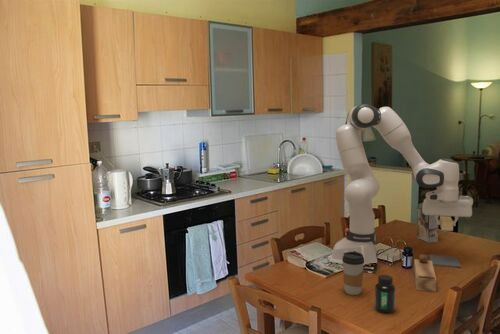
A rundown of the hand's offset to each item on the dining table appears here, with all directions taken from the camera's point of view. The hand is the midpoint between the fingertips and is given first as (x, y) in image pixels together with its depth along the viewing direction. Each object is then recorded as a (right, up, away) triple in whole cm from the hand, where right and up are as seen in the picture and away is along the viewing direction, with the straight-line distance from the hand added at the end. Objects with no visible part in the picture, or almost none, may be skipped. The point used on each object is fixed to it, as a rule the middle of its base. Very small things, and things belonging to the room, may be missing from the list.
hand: (446, 225), depth 190 cm
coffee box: (+5, -12, +32) cm, 35 cm away
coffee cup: (-48, -23, -25) cm, 59 cm away
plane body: (-17, -20, -17) cm, 31 cm away
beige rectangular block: (0, -1, 0) cm, 1 cm away
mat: (0, -17, +3) cm, 17 cm away
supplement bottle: (-40, -25, -39) cm, 61 cm away
